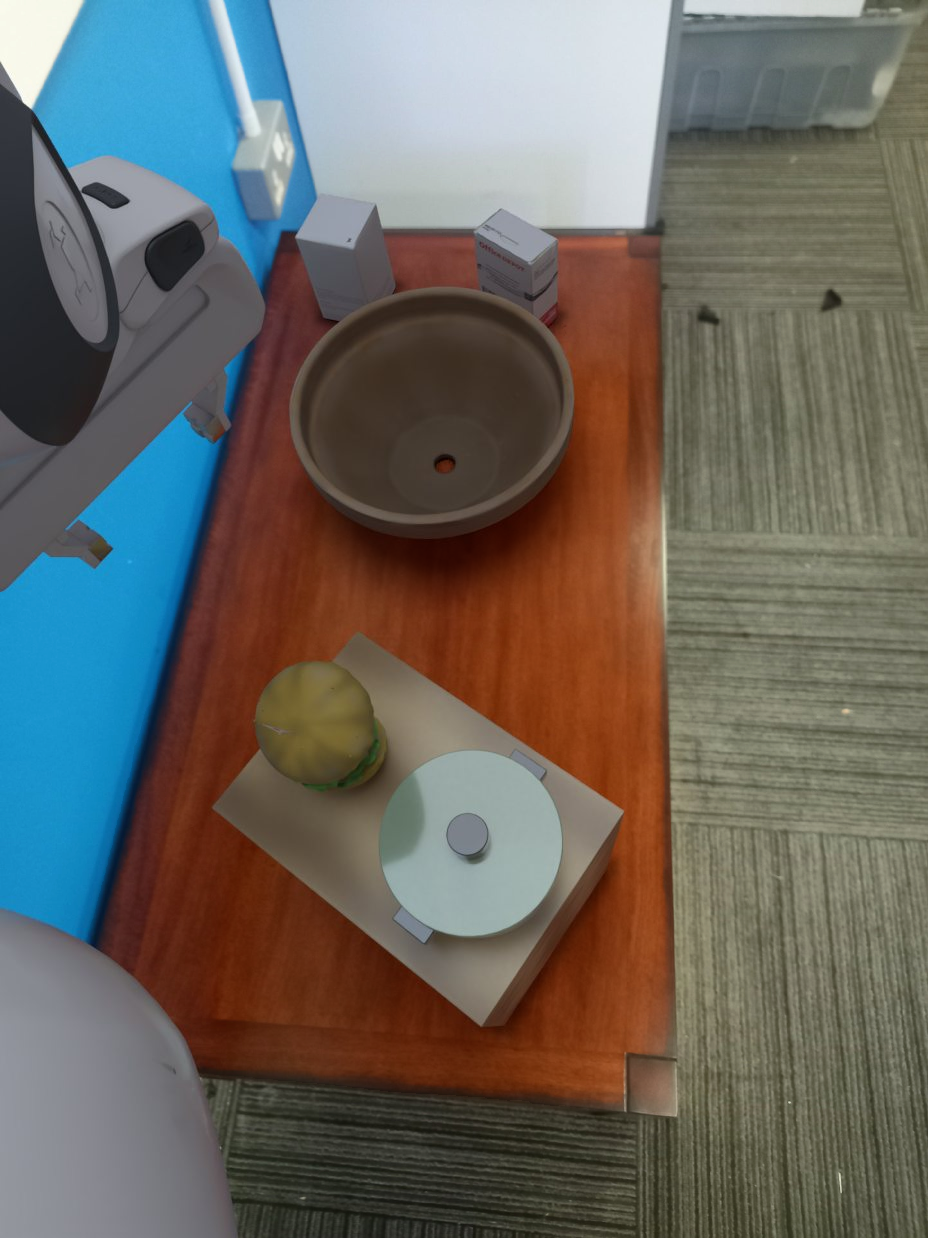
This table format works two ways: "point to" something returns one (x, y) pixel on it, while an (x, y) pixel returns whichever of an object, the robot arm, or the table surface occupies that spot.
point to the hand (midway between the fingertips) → (156, 490)
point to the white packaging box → (345, 255)
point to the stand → (350, 825)
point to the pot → (470, 845)
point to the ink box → (518, 264)
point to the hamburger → (320, 727)
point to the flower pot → (433, 411)
